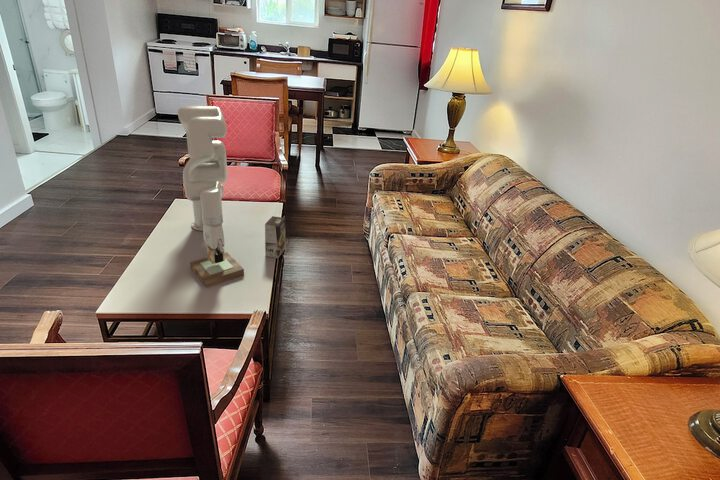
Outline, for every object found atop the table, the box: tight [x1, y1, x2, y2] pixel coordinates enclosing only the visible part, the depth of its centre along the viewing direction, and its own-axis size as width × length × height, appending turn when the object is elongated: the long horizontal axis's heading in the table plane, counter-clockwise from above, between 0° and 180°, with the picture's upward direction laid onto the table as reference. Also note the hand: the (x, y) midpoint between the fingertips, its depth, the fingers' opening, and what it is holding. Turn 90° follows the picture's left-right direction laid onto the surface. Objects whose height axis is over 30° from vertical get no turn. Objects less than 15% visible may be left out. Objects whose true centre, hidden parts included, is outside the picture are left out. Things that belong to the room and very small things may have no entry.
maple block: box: [206, 245, 225, 264], centre depth 173 cm, size 5×5×6 cm
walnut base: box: [189, 251, 245, 288], centre depth 176 cm, size 16×16×3 cm
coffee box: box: [264, 216, 286, 259], centre depth 191 cm, size 9×6×16 cm
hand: (216, 258), depth 174 cm, fingers closed on maple block, 5 cm apart
